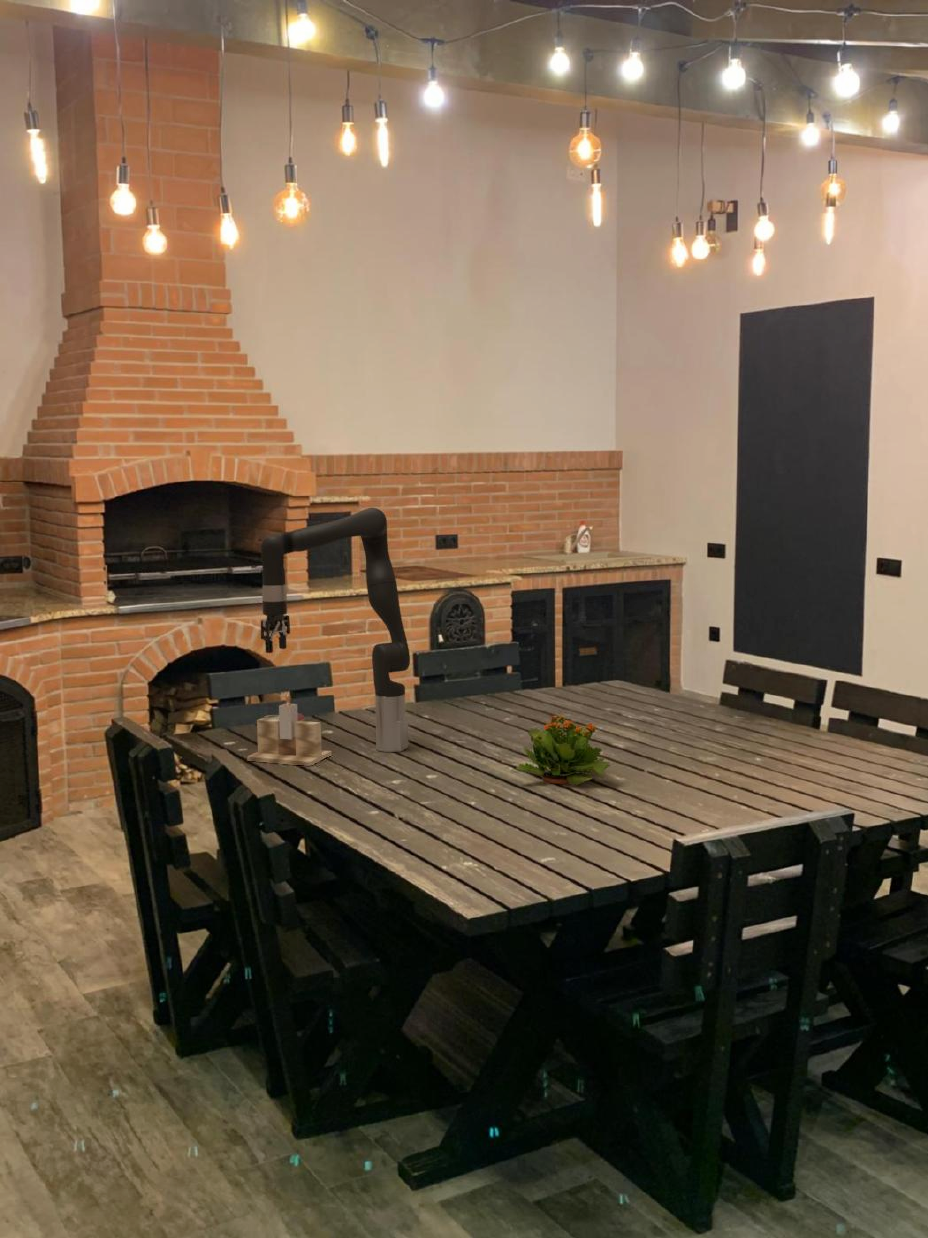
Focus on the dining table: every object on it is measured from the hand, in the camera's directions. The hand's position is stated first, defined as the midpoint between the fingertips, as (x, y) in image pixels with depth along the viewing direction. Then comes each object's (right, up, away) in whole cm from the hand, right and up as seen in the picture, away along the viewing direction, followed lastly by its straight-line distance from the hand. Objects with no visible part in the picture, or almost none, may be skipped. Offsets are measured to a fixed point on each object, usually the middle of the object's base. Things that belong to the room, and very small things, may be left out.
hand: (276, 650), depth 386 cm
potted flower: (+85, -35, -41) cm, 101 cm away
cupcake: (+2, -28, +20) cm, 34 cm away
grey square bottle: (+6, -26, -15) cm, 30 cm away
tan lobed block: (+6, -32, -14) cm, 36 cm away
